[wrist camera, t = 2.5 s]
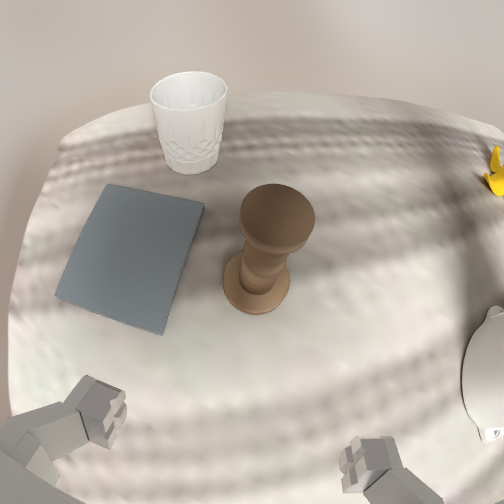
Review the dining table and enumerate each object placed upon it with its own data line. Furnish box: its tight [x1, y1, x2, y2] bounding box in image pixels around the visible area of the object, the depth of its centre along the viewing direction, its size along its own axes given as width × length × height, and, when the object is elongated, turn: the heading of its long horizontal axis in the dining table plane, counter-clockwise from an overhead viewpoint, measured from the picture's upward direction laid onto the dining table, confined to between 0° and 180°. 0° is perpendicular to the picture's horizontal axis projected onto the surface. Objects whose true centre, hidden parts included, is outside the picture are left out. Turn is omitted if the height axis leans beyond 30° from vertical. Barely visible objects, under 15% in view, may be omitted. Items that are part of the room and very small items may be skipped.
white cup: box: [150, 71, 228, 175], centre depth 30 cm, size 8×8×10 cm
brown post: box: [223, 184, 315, 315], centre depth 22 cm, size 6×6×12 cm
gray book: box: [54, 184, 204, 335], centre depth 27 cm, size 12×14×1 cm
